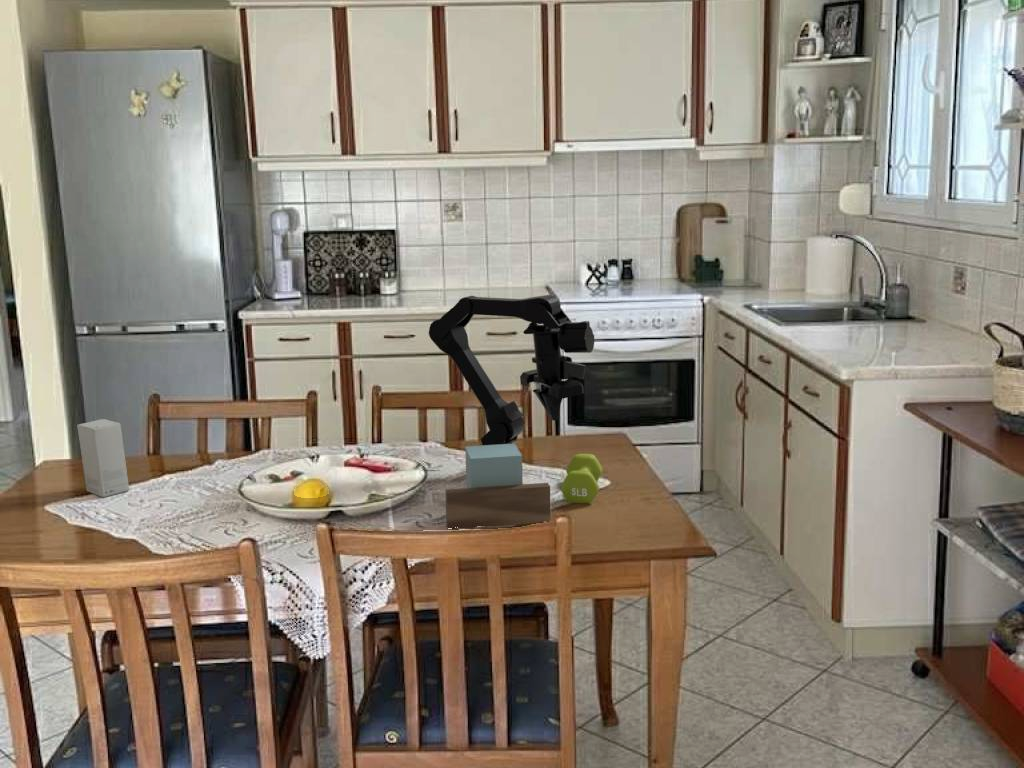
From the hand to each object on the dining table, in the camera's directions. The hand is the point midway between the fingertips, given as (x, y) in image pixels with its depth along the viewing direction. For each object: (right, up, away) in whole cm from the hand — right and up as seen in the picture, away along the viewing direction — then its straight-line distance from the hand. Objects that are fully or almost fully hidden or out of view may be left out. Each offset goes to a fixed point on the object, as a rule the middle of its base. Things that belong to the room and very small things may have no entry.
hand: (554, 419), depth 223 cm
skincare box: (-99, -16, -3) cm, 101 cm away
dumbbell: (+5, -16, -12) cm, 21 cm away
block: (-13, -18, -25) cm, 34 cm away
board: (-12, -20, -31) cm, 38 cm away
